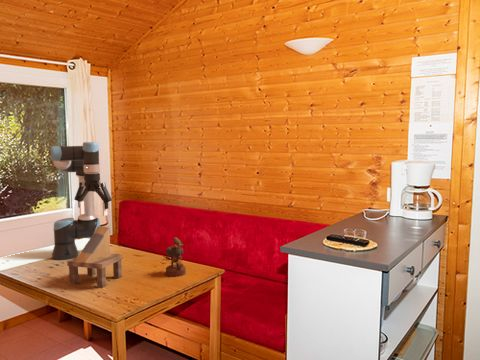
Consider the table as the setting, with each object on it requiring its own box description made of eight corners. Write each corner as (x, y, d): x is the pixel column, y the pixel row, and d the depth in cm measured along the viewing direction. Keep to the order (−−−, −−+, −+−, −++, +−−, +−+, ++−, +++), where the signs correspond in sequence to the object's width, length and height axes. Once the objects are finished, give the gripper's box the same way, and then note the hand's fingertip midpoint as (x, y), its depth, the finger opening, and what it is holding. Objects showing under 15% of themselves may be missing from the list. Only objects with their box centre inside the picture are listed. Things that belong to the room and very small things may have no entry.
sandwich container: (74, 260, 208) (73, 231, 206) (99, 253, 221) (98, 225, 219) (85, 263, 203) (84, 233, 202) (110, 255, 216) (109, 227, 215)
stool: (68, 284, 208) (67, 261, 207) (90, 273, 226) (89, 251, 224) (102, 288, 203) (101, 264, 202) (123, 276, 220) (122, 254, 219)
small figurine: (192, 273, 225) (189, 237, 221) (178, 280, 216) (174, 243, 213) (172, 268, 234) (169, 233, 230) (157, 274, 225) (154, 239, 222)
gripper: (65, 173, 209) (67, 214, 211) (109, 174, 202) (110, 217, 204) (75, 171, 216) (77, 212, 218) (117, 172, 209) (119, 214, 211)
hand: (93, 214), depth 211 cm, fingers open, 13 cm apart
